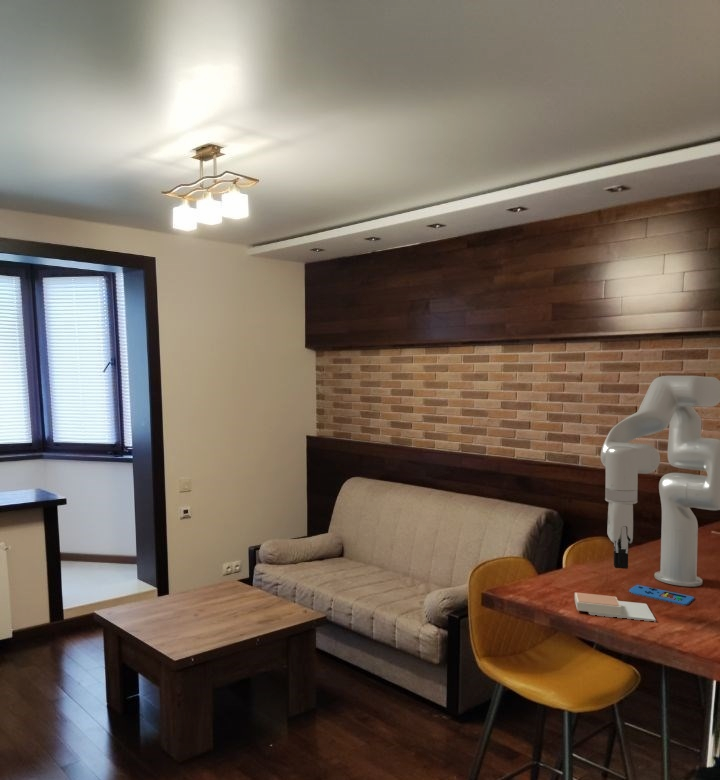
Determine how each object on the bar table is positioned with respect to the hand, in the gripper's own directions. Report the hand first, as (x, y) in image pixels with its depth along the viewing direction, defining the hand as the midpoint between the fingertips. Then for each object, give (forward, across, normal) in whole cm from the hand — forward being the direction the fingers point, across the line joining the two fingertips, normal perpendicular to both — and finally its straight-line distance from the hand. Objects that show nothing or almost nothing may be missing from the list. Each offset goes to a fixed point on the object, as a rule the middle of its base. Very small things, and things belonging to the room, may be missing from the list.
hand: (620, 567), depth 160 cm
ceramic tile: (+9, 0, -6) cm, 10 cm away
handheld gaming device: (+12, -14, +12) cm, 22 cm away
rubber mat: (+10, +2, -1) cm, 11 cm away
